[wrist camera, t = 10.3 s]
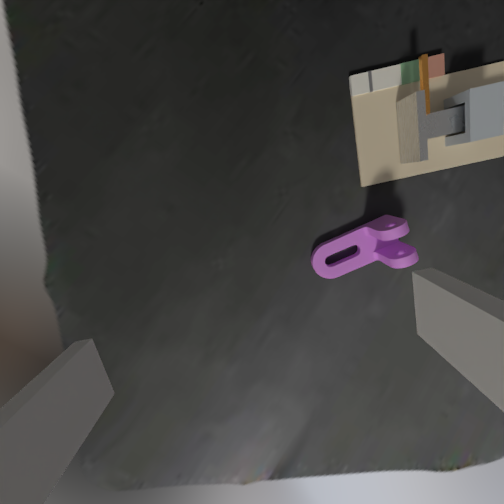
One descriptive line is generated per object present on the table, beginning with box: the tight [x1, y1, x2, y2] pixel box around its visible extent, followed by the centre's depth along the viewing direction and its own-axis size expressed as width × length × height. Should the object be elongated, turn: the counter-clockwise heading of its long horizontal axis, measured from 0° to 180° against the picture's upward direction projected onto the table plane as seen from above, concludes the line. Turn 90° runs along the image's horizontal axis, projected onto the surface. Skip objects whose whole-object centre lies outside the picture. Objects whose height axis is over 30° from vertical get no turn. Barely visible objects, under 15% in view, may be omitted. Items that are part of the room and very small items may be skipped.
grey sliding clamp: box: [396, 54, 465, 164], centre depth 34 cm, size 12×14×5 cm
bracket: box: [311, 215, 419, 279], centre depth 39 cm, size 13×6×7 cm, turn 115°
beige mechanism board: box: [349, 53, 504, 187], centre depth 35 cm, size 14×20×5 cm
